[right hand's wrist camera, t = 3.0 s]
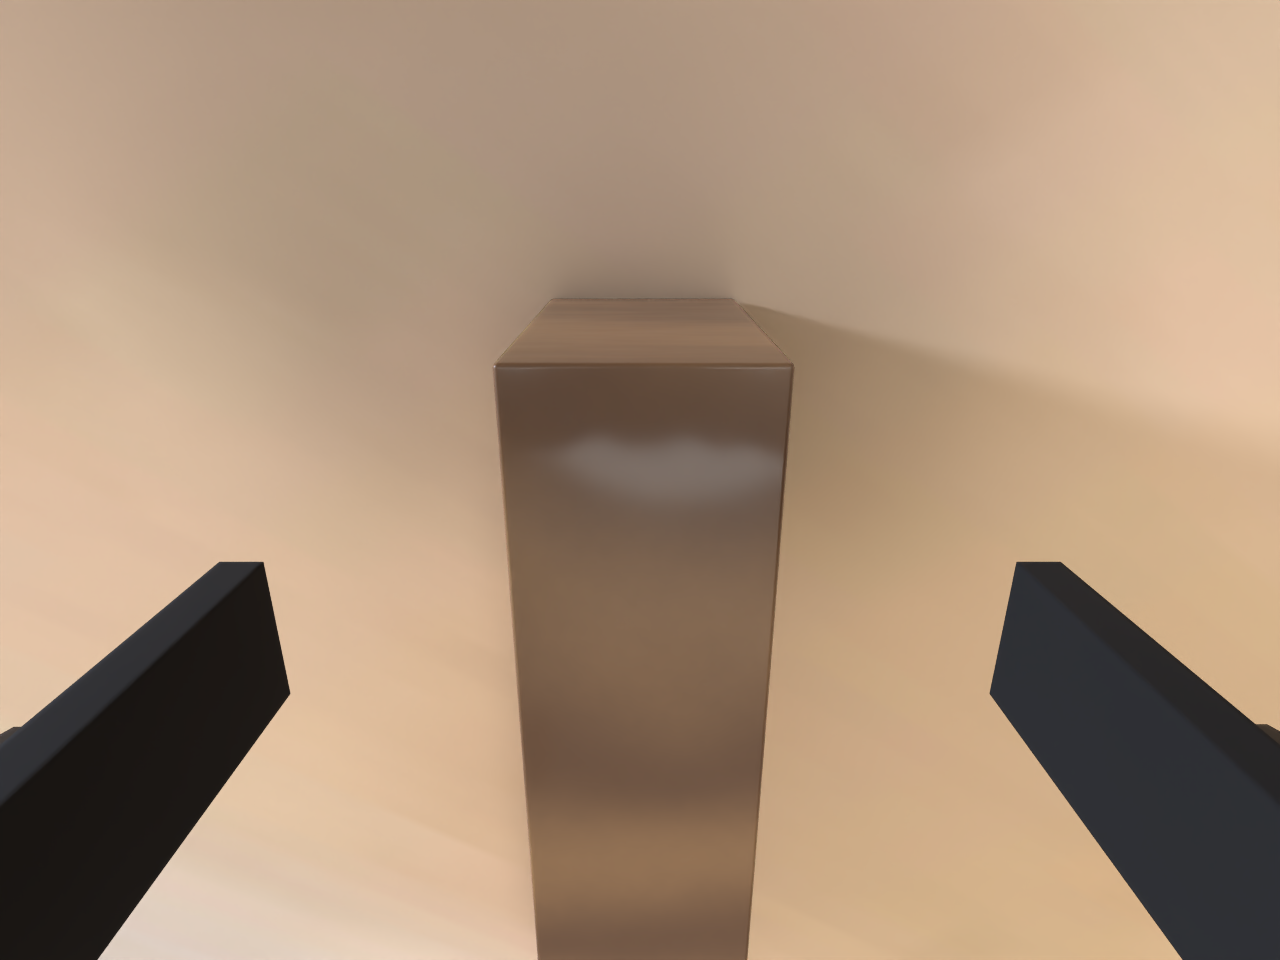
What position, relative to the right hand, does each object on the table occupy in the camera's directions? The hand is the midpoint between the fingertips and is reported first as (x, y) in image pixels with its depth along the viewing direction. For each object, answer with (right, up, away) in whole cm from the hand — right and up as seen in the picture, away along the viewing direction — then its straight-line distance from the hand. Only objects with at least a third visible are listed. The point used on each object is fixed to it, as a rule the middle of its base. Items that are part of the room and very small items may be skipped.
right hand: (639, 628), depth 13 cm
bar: (0, -4, +12) cm, 12 cm away
